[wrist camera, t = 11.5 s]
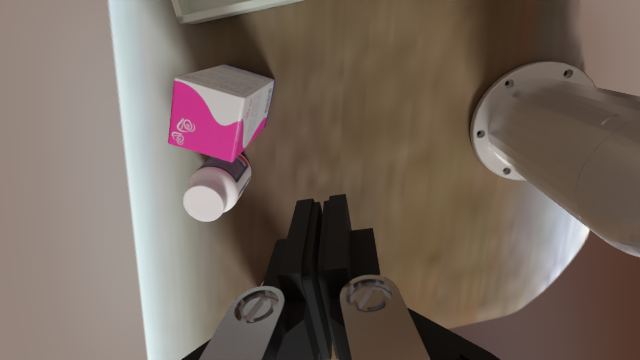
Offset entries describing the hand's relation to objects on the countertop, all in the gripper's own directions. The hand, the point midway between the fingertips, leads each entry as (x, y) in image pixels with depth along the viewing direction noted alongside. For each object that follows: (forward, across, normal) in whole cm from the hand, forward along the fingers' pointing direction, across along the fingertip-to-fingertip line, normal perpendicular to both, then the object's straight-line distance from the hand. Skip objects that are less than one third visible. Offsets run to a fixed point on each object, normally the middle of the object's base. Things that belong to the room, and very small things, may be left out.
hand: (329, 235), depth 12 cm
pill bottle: (+27, +14, +6) cm, 31 cm away
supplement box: (+27, +10, -2) cm, 29 cm away
